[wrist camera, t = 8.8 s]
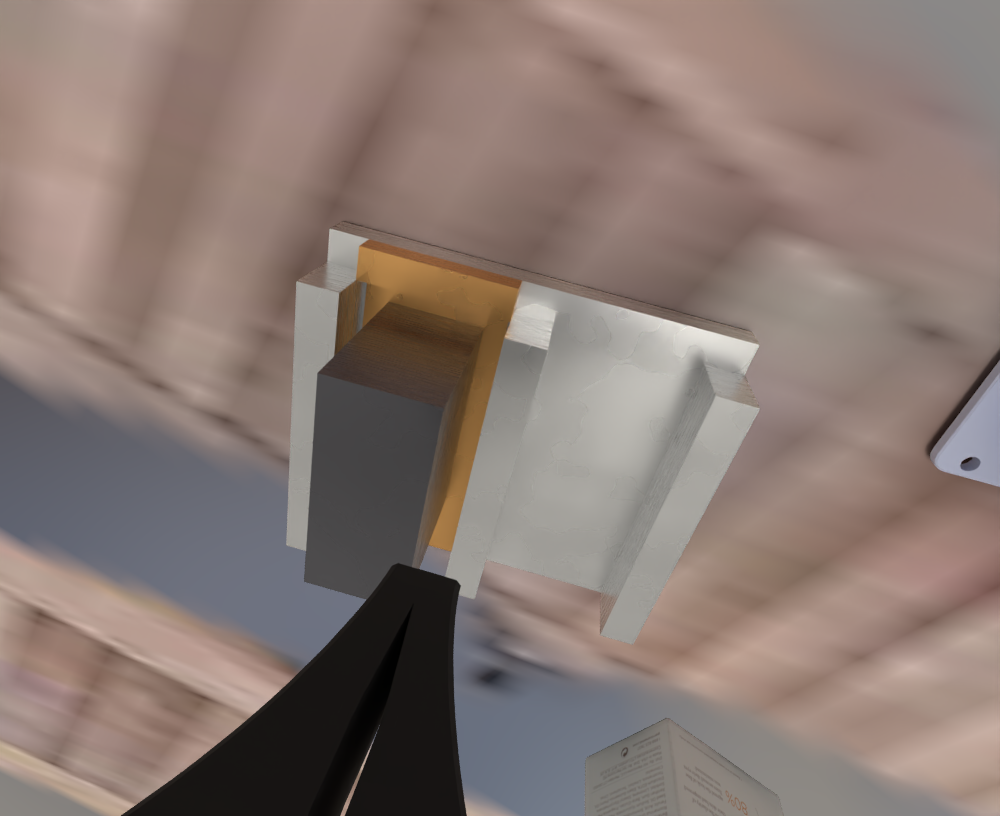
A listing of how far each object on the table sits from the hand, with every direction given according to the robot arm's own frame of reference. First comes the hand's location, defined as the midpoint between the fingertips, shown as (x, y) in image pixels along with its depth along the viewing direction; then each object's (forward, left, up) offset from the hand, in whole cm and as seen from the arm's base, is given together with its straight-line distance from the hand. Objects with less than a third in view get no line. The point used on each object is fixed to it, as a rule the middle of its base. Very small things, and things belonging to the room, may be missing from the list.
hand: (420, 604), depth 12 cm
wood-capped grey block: (+2, +1, -8) cm, 8 cm away
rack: (-1, +1, -9) cm, 9 cm away
